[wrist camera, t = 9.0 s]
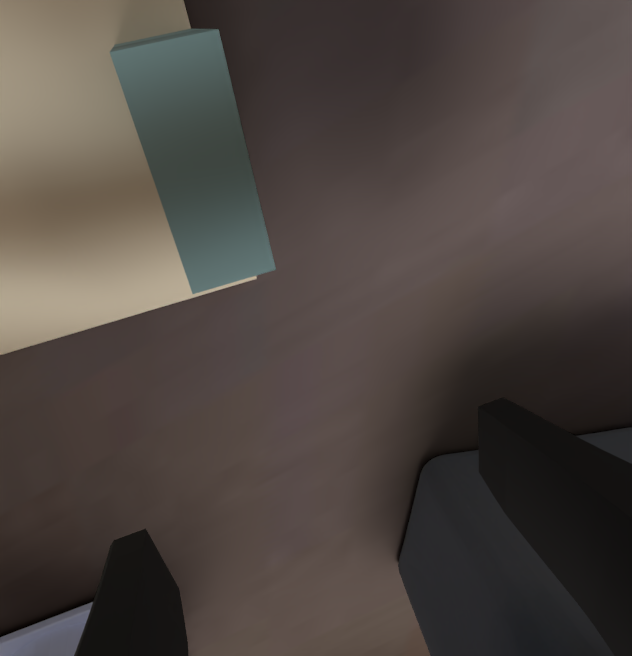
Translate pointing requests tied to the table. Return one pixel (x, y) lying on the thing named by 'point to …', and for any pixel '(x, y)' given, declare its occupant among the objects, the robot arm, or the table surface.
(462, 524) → the storage bin
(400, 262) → the table surface
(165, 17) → the wooden board
